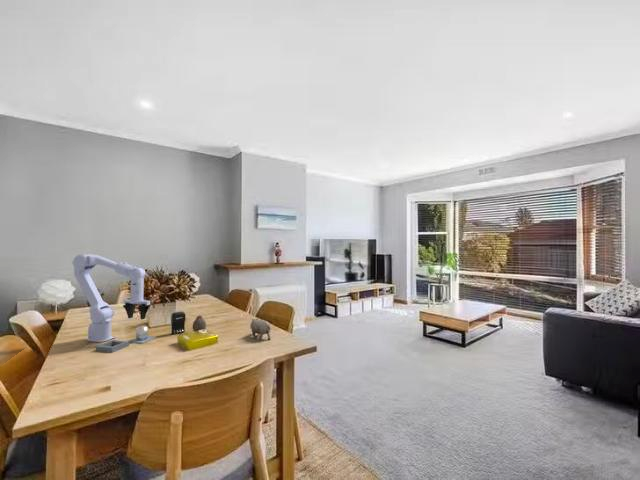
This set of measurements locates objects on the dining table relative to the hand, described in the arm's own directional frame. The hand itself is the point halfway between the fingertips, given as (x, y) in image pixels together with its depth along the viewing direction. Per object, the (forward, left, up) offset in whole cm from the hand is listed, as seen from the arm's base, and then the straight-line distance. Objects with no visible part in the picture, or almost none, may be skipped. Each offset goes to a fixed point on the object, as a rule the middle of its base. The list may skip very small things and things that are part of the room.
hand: (136, 318), depth 155 cm
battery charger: (+15, +13, -11) cm, 22 cm away
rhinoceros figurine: (+59, +17, -11) cm, 63 cm away
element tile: (+34, +1, -11) cm, 36 cm away
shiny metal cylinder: (+5, -1, -10) cm, 11 cm away
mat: (+5, -1, -10) cm, 11 cm away
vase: (+25, +17, -11) cm, 32 cm away
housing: (+1, -14, -10) cm, 18 cm away
